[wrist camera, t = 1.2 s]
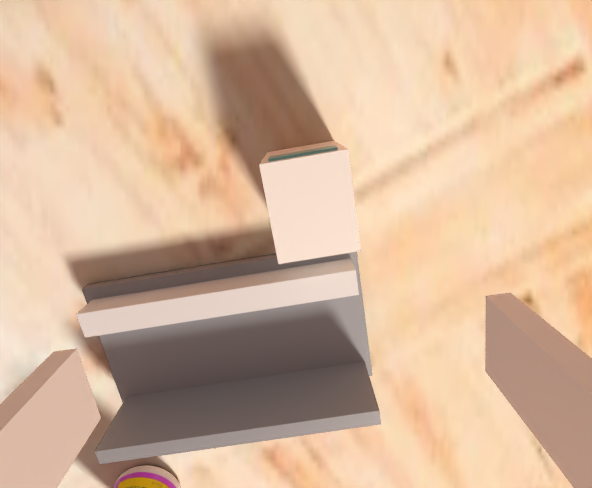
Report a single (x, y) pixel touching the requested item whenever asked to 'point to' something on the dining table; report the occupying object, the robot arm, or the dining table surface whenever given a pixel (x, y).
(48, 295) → the dining table surface
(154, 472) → the supplement bottle
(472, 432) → the dining table surface
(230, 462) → the dining table surface
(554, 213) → the dining table surface
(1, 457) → the robot arm
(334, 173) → the block
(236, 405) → the rail base
